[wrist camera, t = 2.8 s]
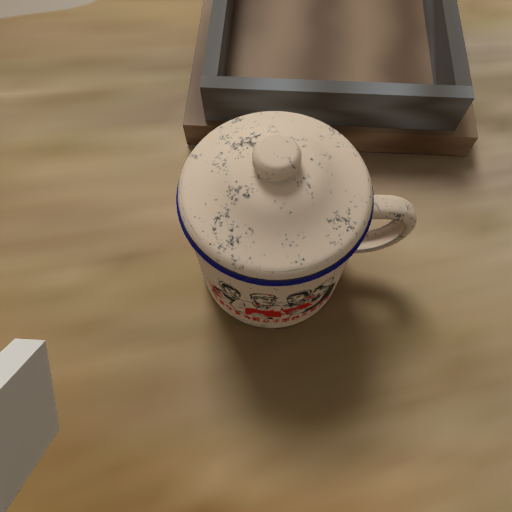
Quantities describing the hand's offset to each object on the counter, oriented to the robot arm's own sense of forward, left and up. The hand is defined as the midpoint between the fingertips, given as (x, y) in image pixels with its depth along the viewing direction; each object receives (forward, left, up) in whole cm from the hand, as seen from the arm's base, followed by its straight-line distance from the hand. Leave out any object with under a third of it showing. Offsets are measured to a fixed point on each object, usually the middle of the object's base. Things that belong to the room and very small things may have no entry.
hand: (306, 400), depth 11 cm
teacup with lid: (0, -10, -14) cm, 18 cm away
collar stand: (-2, -28, -14) cm, 31 cm away
